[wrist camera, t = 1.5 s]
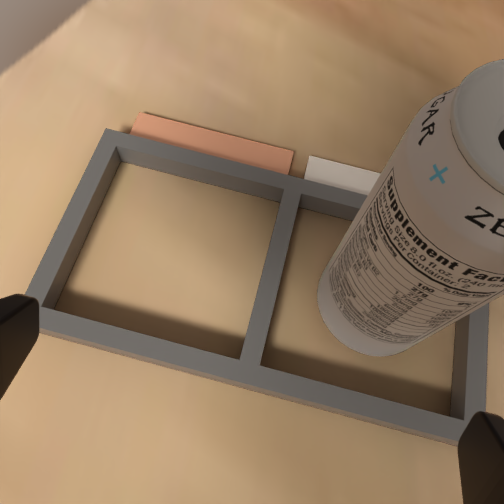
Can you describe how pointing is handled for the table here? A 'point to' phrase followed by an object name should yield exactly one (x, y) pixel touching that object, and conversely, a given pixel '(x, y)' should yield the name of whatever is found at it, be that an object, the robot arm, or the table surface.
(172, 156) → the grey divided frame
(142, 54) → the table surface
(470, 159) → the energy drink can
